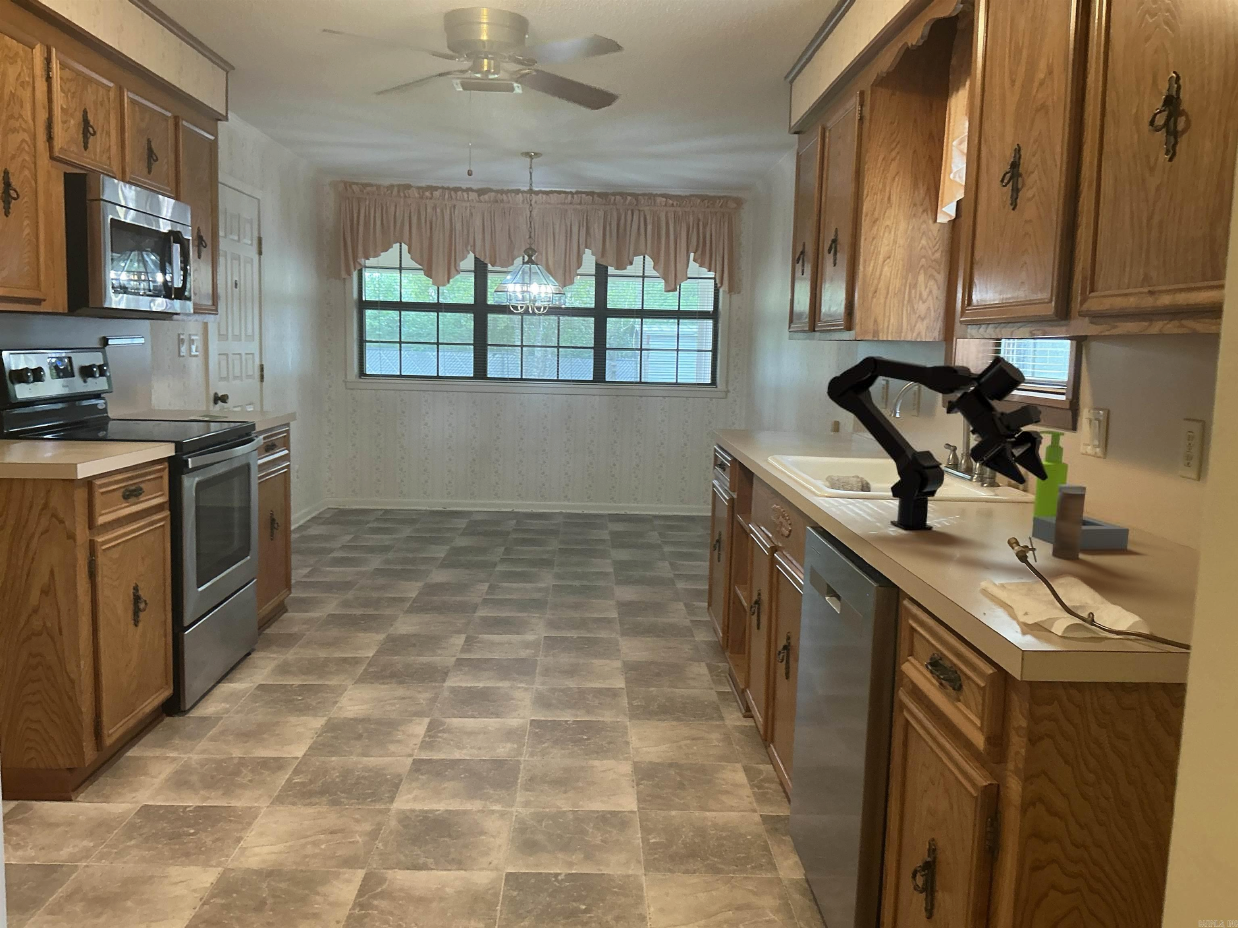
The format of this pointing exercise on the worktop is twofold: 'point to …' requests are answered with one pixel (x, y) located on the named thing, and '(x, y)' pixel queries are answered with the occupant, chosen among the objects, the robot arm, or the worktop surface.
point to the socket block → (1086, 533)
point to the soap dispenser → (1050, 478)
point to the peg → (1068, 521)
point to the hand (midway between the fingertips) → (1035, 481)
